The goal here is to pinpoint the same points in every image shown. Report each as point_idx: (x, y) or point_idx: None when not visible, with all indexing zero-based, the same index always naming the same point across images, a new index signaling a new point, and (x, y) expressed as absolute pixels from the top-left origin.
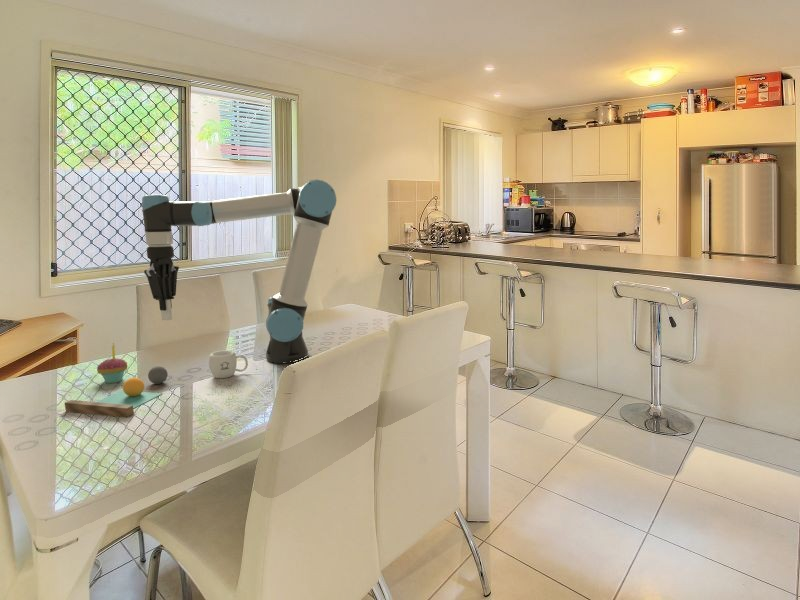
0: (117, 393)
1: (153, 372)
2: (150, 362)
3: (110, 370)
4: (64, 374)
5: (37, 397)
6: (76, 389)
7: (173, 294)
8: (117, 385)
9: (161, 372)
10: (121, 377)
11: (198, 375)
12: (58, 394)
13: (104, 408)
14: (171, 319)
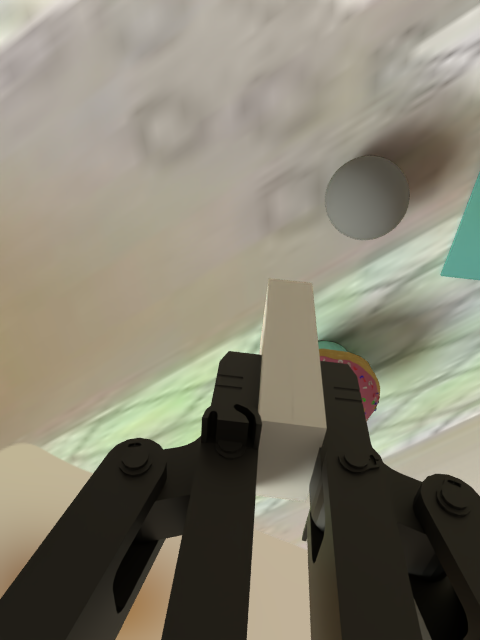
0: (478, 271)
1: (405, 204)
2: (123, 358)
3: (375, 377)
4: None
5: (465, 455)
6: (406, 409)
7: (159, 464)
8: (375, 323)
9: (393, 172)
10: (325, 345)
11: (240, 54)
12: (447, 426)
13: None
14: (280, 280)
